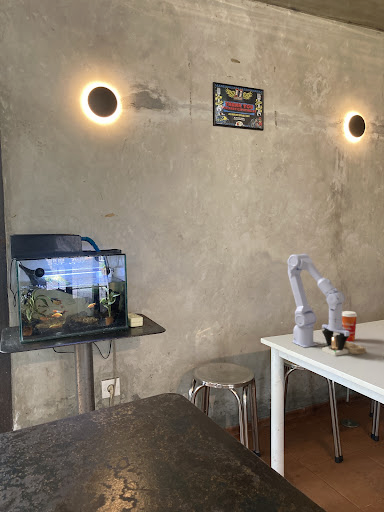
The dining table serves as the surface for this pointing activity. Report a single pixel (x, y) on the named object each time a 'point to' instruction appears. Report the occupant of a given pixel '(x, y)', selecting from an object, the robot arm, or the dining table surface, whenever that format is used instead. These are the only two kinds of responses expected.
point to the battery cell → (334, 343)
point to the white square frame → (334, 353)
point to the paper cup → (349, 324)
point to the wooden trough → (354, 348)
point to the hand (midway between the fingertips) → (335, 347)
